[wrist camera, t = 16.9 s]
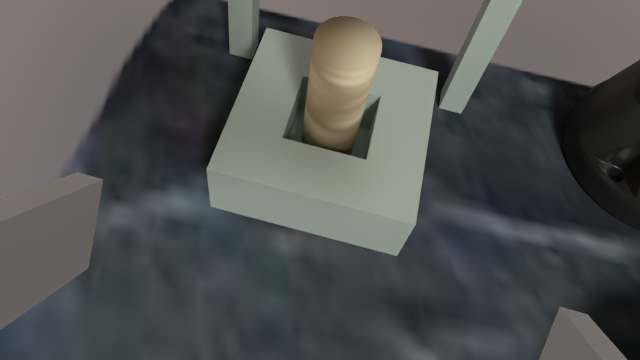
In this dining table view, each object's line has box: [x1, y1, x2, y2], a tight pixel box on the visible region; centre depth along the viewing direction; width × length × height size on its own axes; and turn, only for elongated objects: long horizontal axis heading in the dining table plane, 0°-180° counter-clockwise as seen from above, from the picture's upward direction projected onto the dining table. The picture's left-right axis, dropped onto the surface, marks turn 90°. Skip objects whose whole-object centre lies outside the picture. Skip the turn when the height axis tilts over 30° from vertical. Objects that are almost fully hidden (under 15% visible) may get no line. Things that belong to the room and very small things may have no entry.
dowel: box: [301, 16, 382, 156], centre depth 36 cm, size 4×4×12 cm
